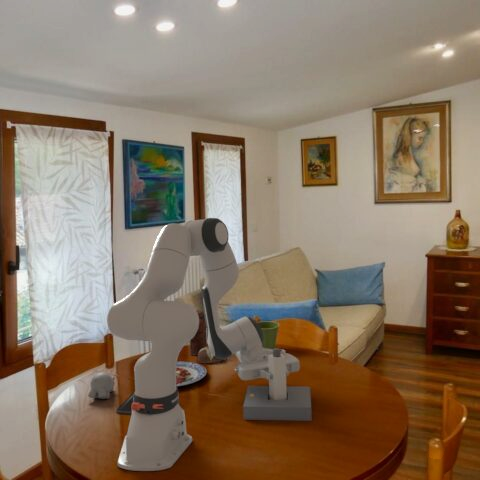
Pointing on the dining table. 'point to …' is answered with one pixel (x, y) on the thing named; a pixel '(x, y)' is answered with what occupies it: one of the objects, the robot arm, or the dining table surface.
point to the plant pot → (269, 333)
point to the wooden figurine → (199, 336)
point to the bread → (207, 356)
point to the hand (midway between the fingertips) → (278, 375)
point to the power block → (277, 404)
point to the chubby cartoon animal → (101, 386)
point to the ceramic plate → (188, 373)
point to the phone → (126, 406)
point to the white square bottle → (277, 375)
